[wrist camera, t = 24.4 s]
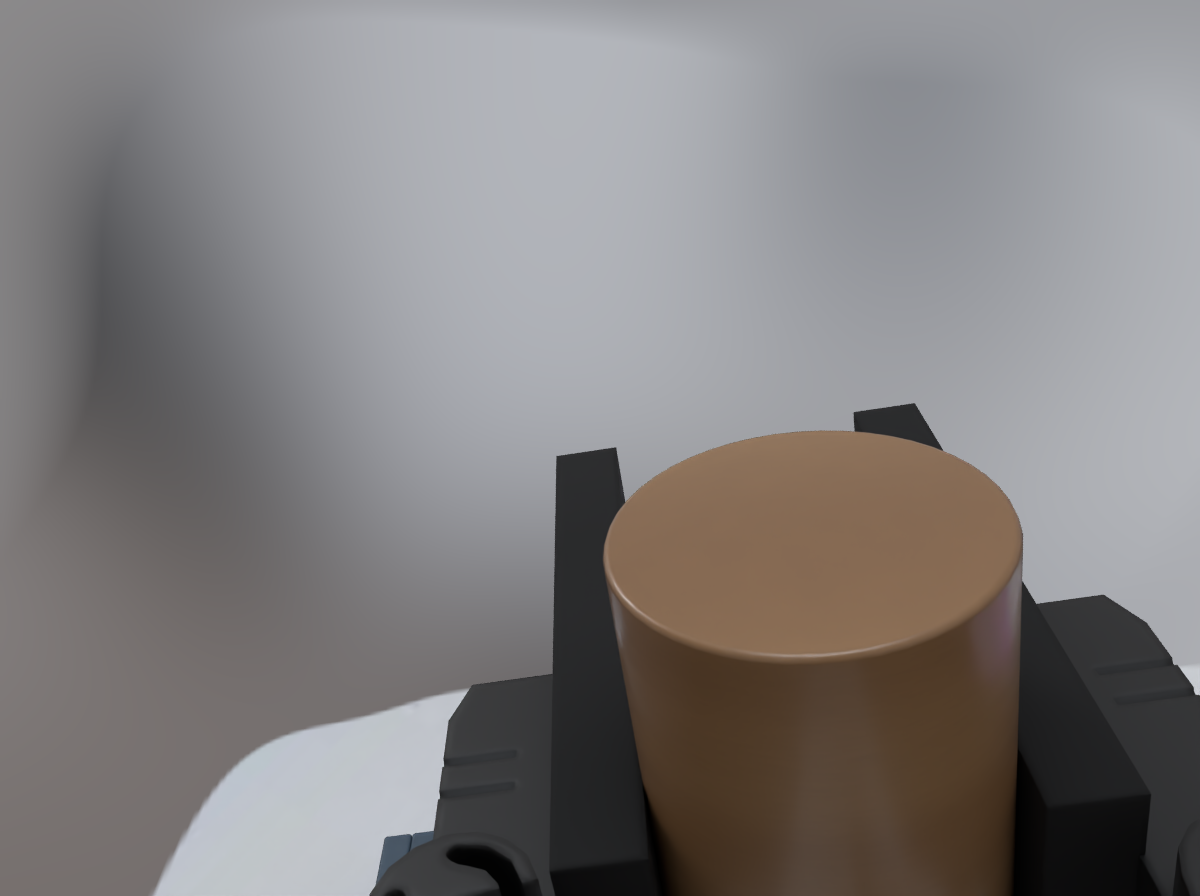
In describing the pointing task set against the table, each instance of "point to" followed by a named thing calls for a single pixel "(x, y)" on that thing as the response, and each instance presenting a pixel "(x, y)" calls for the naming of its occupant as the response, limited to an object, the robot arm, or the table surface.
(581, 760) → the robot arm
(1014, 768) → the wooden rubber stamp
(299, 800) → the table surface
